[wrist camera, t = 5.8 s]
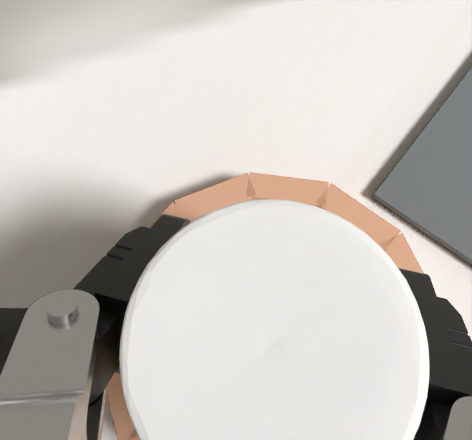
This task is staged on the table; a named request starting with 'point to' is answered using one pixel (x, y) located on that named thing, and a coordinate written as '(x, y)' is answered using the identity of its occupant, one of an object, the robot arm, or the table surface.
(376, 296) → the supplement bottle
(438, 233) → the mat
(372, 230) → the faceted open ring
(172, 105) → the table surface
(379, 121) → the table surface
